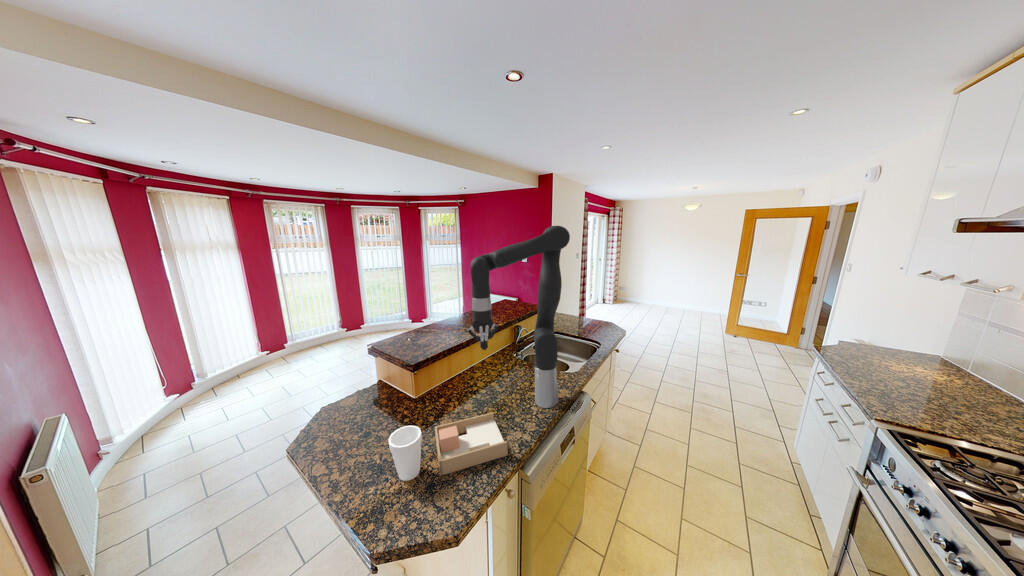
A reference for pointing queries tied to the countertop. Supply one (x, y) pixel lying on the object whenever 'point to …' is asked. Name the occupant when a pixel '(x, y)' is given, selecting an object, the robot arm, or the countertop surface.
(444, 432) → the block
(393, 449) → the foam cup
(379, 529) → the countertop surface
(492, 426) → the box
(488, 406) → the countertop surface
